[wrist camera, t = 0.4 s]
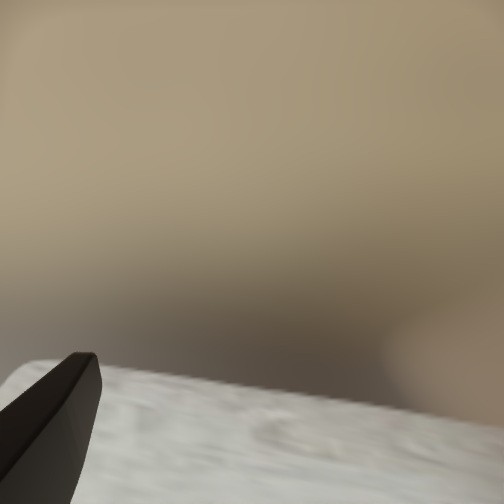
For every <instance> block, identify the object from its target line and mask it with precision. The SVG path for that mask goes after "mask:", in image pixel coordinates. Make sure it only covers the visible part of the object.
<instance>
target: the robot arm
mask: <svg viewBox="0 0 504 504" xmlns="http://www.w3.org/2000/svg"><path fill="white" fill-rule="evenodd" d="M101 392H102V378H101V373H100V368H99V364H98V359H97V356H96V354H95V353H93V352H74V353H72V354H71V355H69V356H68V357H67V358H66V359H64V360H63V361H62V362H61V363H60V364H58V365H57V366H56V367H55V368H53V369H52V370H51V371H50V372H48V373H47V374H46V375H45V376H43V377H42V378H41V379H40V380H39V381H37V382H36V383H35V384H34V385H32V386H31V387H30V388H29V389H27V390H26V391H25V392H24V393H22V394H21V395H20V396H19V397H17V398H16V399H15V400H14V401H13V402H11V403H10V404H9V405H8V406H6V407H5V408H4V409H3V410H1V411H0V504H70V502H71V500H72V497H73V494H74V491H75V489H76V486H77V483H78V480H79V477H80V474H81V471H82V468H83V465H84V461H85V457H86V454H87V450H88V445H89V441H90V437H91V433H92V429H93V425H94V421H95V417H96V413H97V409H98V405H99V401H100V397H101Z"/></svg>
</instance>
